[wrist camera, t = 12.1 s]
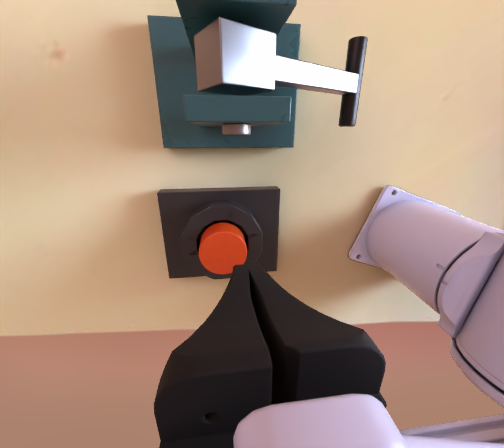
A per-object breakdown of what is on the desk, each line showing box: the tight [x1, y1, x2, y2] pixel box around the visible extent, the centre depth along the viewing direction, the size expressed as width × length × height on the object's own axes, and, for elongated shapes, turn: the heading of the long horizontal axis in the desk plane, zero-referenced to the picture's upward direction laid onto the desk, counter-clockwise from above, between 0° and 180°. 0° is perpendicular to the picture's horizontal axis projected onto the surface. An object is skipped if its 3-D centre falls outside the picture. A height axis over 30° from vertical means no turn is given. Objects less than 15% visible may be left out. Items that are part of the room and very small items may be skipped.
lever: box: [194, 17, 368, 127], centre depth 13 cm, size 11×5×2 cm, turn 90°
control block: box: [157, 186, 280, 279], centre depth 21 cm, size 10×8×3 cm
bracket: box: [148, 0, 301, 148], centre depth 14 cm, size 10×8×10 cm
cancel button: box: [199, 222, 247, 274], centre depth 19 cm, size 4×4×2 cm
